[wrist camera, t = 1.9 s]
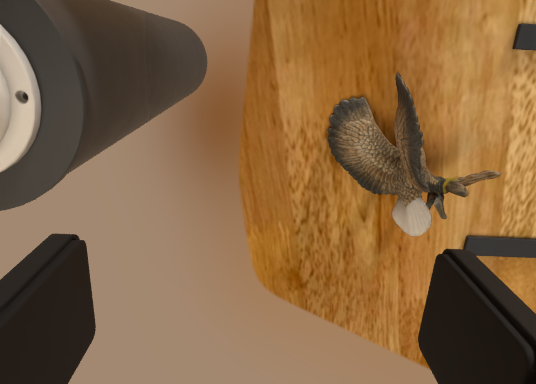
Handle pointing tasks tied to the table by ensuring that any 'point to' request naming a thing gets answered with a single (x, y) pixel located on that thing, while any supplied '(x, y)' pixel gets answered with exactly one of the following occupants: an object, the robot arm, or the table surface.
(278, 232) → the table surface
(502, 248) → the frame
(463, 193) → the eagle figurine
